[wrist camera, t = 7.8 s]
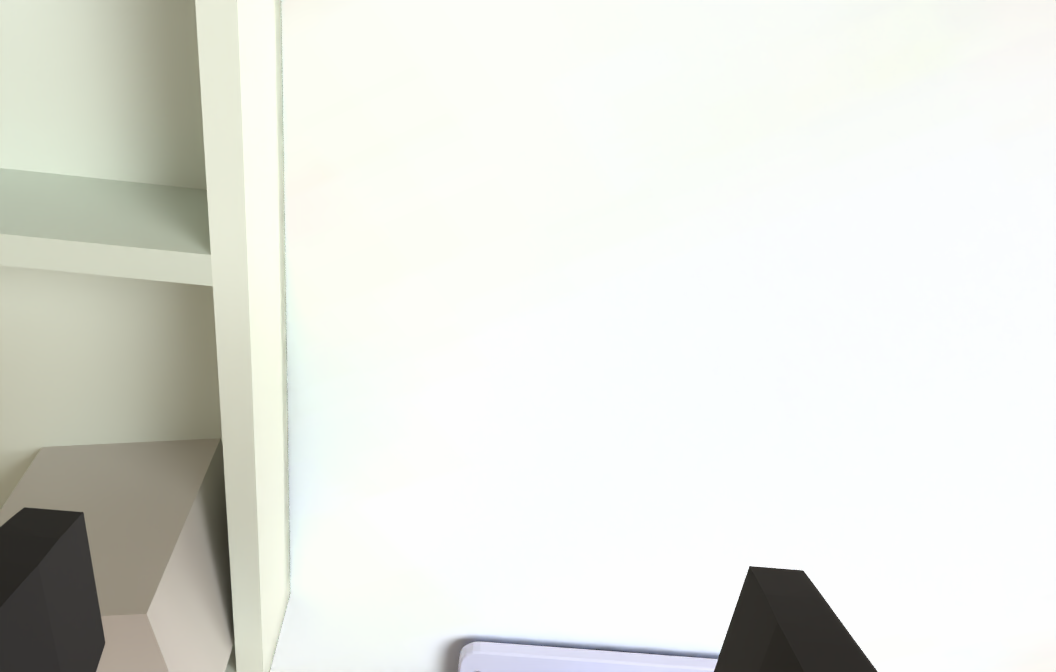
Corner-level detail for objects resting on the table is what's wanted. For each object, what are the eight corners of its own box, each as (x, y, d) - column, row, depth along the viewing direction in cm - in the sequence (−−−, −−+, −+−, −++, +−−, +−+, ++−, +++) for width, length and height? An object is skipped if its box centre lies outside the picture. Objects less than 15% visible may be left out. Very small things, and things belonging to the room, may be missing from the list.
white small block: (257, 567, 23) (199, 752, 19) (95, 574, 23) (2, 760, 19) (220, 438, 21) (146, 613, 17) (42, 447, 21) (-76, 624, 17)
